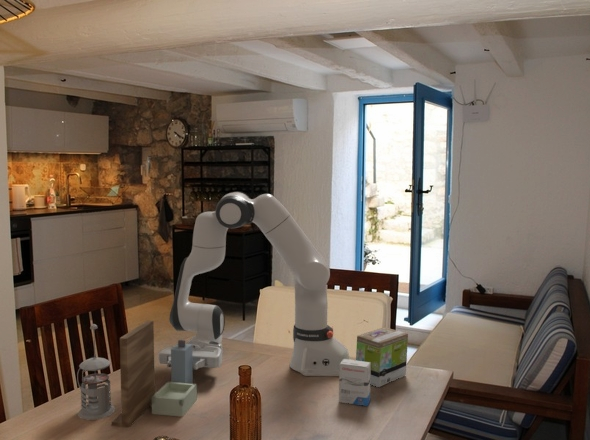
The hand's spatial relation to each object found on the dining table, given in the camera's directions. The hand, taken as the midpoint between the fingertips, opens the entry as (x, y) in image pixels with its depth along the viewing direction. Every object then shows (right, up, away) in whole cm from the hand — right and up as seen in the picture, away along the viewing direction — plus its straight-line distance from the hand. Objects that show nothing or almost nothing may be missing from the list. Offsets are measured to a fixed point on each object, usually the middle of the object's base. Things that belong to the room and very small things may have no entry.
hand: (181, 366), depth 171 cm
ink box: (+52, -9, -7) cm, 54 cm away
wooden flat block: (-10, -9, -16) cm, 21 cm away
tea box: (+63, -7, +10) cm, 64 cm away
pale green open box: (+1, -8, -12) cm, 15 cm away
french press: (-21, -9, -15) cm, 28 cm away
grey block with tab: (0, -7, +1) cm, 7 cm away
